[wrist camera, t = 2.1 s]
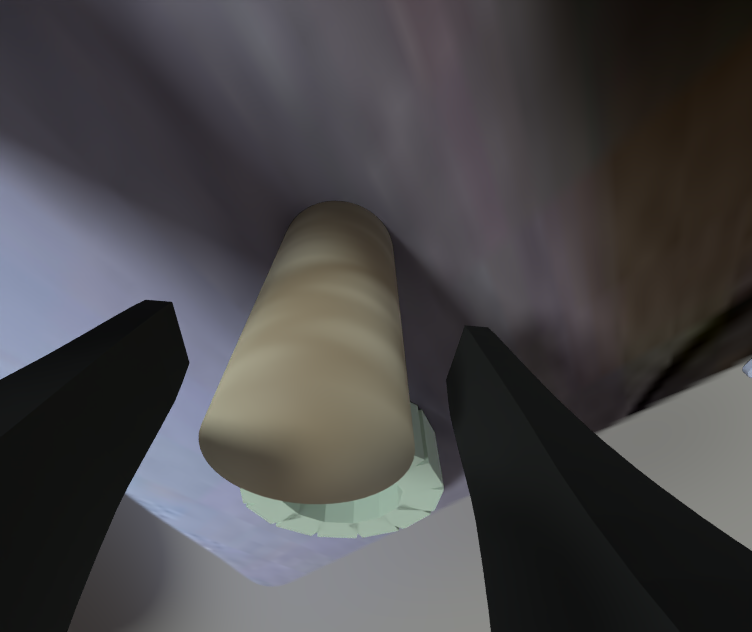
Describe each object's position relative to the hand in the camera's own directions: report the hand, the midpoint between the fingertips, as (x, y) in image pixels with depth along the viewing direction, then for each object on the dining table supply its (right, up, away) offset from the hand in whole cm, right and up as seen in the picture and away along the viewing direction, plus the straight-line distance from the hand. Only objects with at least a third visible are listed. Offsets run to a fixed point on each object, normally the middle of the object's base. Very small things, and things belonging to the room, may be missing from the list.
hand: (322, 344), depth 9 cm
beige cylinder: (0, +3, +4) cm, 5 cm away
